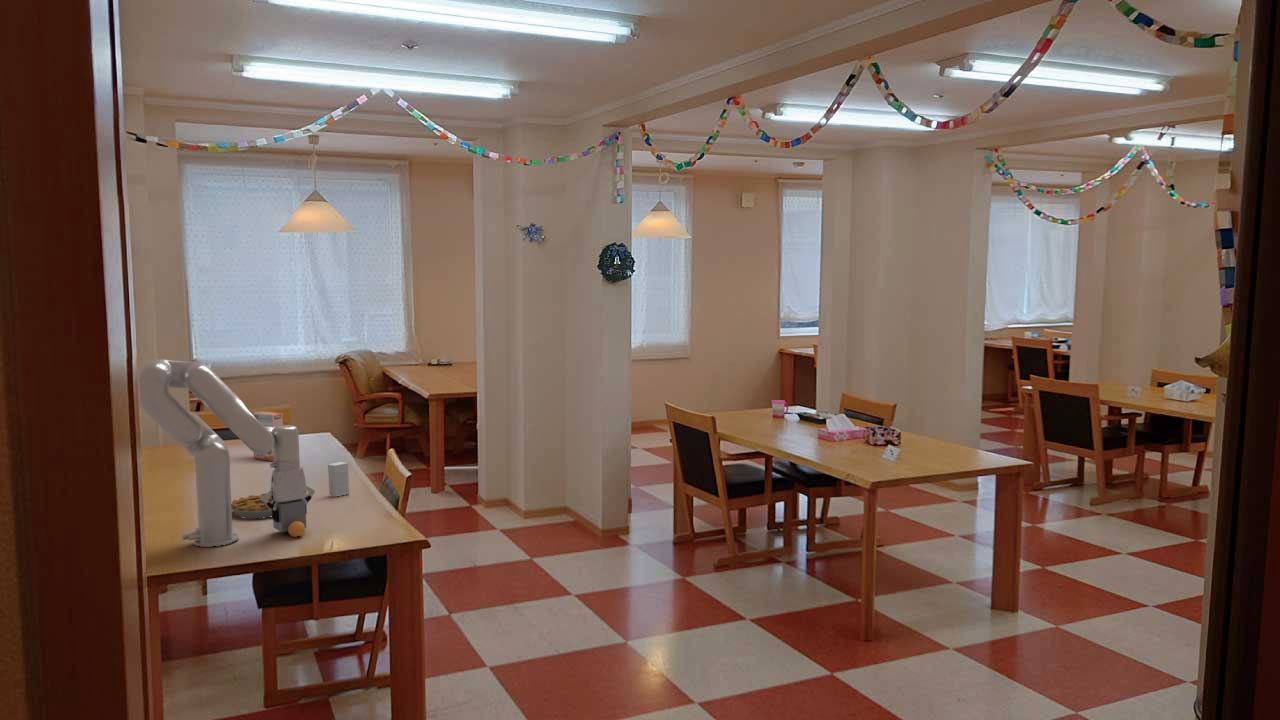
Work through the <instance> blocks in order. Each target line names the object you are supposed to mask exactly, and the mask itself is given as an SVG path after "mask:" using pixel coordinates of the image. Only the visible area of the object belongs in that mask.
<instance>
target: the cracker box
mask: <svg viewBox="0 0 1280 720" xmlns="http://www.w3.org/2000/svg"><path fill="white" fill-rule="evenodd" d="M251 414H252V415H253V416H254V417H255V418H256V419H257V420H258V421H259V422H260V423H261V424H262V425H263V426H265V427H278V426H284V419H283V418H284V414H283V413H282V412H273V411H263V410H261V411H254V412H251ZM253 459H254V460H261V461H266V460H267V461H268V462H272V461H274V448H273V449H272V450H271V451H270V452H269V453H267V454H262V455H260V454H256V453H254V452H253ZM267 461H266V462H267Z"/></svg>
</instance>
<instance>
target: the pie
mask: <svg viewBox="0 0 1280 720" xmlns="http://www.w3.org/2000/svg"><path fill="white" fill-rule="evenodd" d="M266 494H267V493H261V494H260V495H249V496H248V497H240V498H239V499H238V500H237V499H235V500H232V501H231V507H232V512H234V514H235V516H236V515H237V516H240V517H245V518H263V517H270V516H272V509H271V508H270V507H268V506H267V505H266V504H265V503H264V502H263V501H262V500H261V498H262V497H263V496H264V495H266ZM268 501H269V502H270V503H272V499H271V497H270V498H269V499H268ZM237 516H236V517H237ZM240 517H239V518H240ZM245 518H244V519H245ZM263 519H264V518H263Z"/></svg>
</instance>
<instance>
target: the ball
mask: <svg viewBox="0 0 1280 720" xmlns="http://www.w3.org/2000/svg"><path fill="white" fill-rule="evenodd" d="M305 531H306V528H305V526H304V524H303V523H302V522H300V521H295V522H292V523H291V524H290V525H289V527H288V534H289V535H290V536H291V537H293V538H298V537H297V536H300V537H302V536H303V535H304V534H305ZM301 535H302V536H301Z"/></svg>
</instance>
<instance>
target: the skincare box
mask: <svg viewBox="0 0 1280 720" xmlns="http://www.w3.org/2000/svg"><path fill="white" fill-rule="evenodd" d="M327 471H328V473H327V476H328V490H329V496H330V495H331V496H330V497H332V496H335V497H334V498H338V497H337V496H340V497H342V496H341V495H344V496H346V495H345V494H348V495H350V482H349V481H350V478H349V477H350V476H349V463H348V462H344V461H338V462H334V463H329V464H327Z"/></svg>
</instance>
